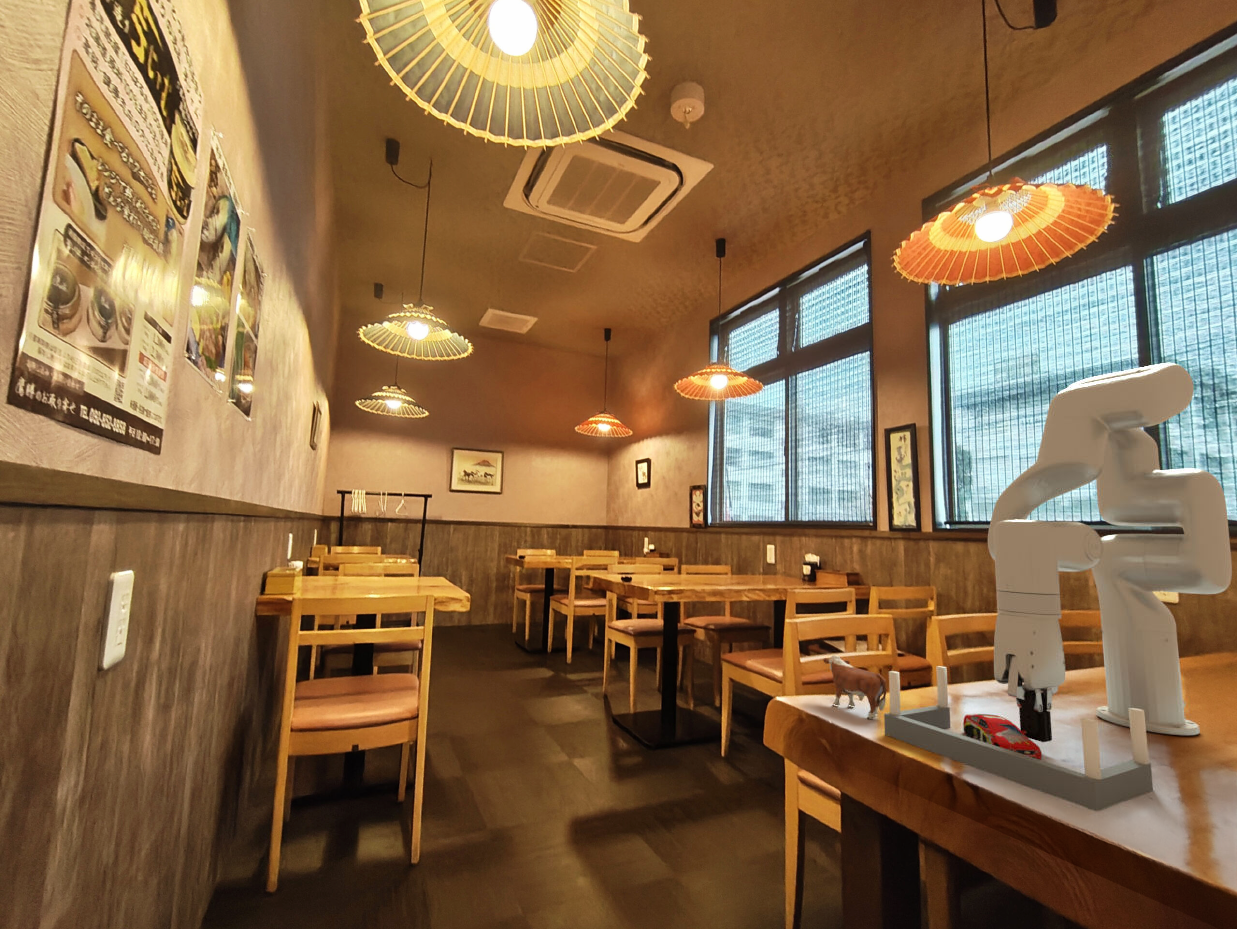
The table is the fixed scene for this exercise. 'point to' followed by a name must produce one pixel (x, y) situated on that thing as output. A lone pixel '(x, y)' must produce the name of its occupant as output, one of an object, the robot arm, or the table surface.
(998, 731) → the race car
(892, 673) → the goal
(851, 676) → the bull figurine
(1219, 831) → the table surface
